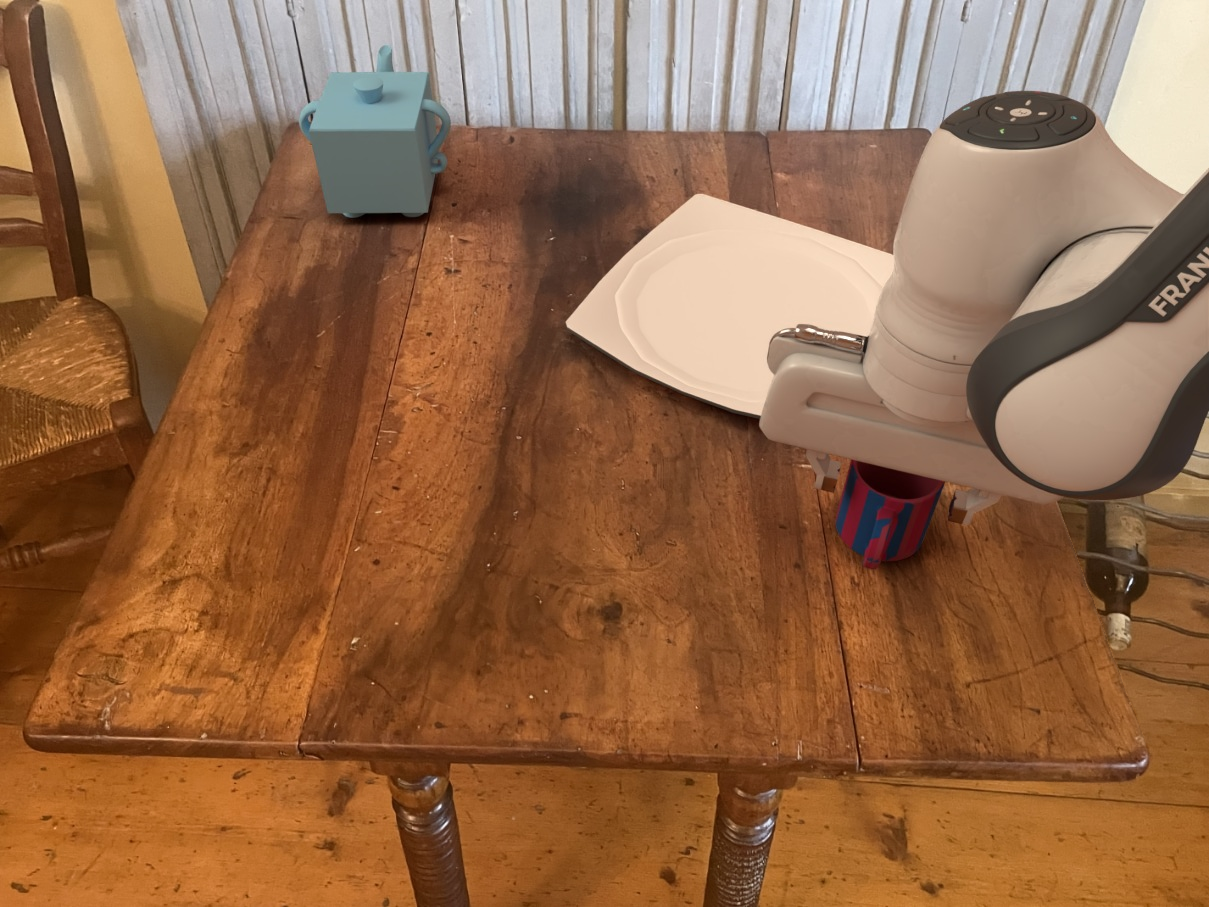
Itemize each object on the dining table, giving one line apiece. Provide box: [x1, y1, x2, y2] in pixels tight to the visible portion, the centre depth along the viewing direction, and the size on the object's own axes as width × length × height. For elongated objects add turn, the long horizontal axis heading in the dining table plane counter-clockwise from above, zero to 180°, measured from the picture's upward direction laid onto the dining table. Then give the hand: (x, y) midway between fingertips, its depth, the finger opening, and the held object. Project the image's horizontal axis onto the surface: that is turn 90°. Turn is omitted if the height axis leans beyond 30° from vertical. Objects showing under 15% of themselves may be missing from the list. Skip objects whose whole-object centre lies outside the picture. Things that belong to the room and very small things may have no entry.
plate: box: [564, 193, 894, 420], centre depth 92 cm, size 29×29×3 cm
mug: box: [835, 459, 946, 571], centre depth 72 cm, size 7×10×7 cm
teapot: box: [298, 44, 452, 219], centre depth 106 cm, size 18×16×13 cm
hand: (890, 500), depth 71 cm, fingers open, 8 cm apart
